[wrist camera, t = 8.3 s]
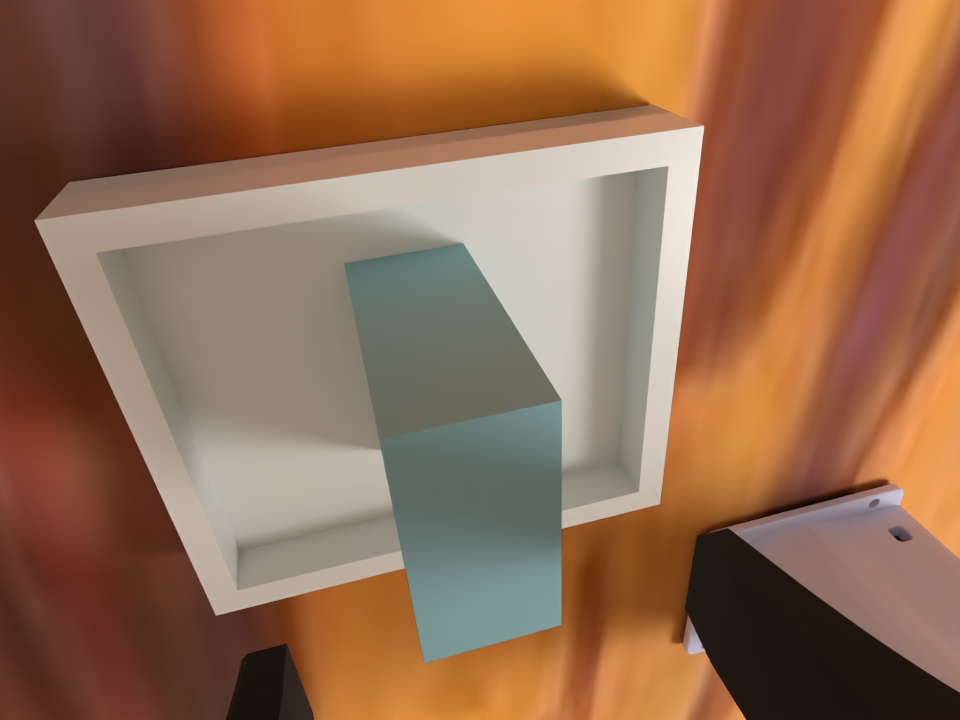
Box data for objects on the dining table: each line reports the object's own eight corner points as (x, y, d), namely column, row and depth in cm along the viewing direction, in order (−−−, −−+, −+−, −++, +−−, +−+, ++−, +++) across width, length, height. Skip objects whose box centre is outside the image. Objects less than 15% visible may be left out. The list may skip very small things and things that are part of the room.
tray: (652, 104, 17) (703, 125, 15) (626, 455, 23) (659, 504, 21) (69, 182, 14) (33, 220, 12) (222, 550, 21) (215, 615, 19)
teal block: (479, 428, 20) (561, 624, 14) (381, 450, 19) (424, 663, 13) (463, 243, 16) (561, 400, 11) (343, 263, 16) (380, 439, 10)
